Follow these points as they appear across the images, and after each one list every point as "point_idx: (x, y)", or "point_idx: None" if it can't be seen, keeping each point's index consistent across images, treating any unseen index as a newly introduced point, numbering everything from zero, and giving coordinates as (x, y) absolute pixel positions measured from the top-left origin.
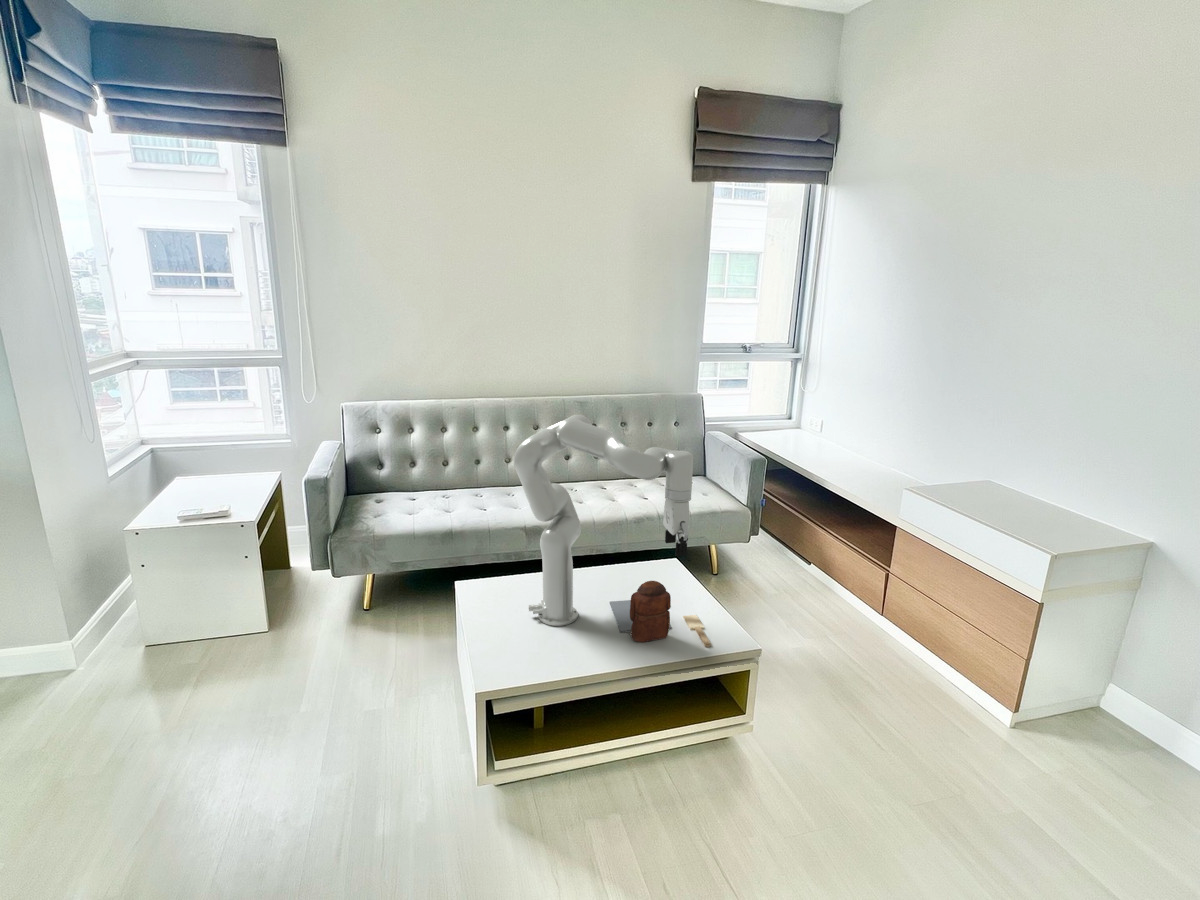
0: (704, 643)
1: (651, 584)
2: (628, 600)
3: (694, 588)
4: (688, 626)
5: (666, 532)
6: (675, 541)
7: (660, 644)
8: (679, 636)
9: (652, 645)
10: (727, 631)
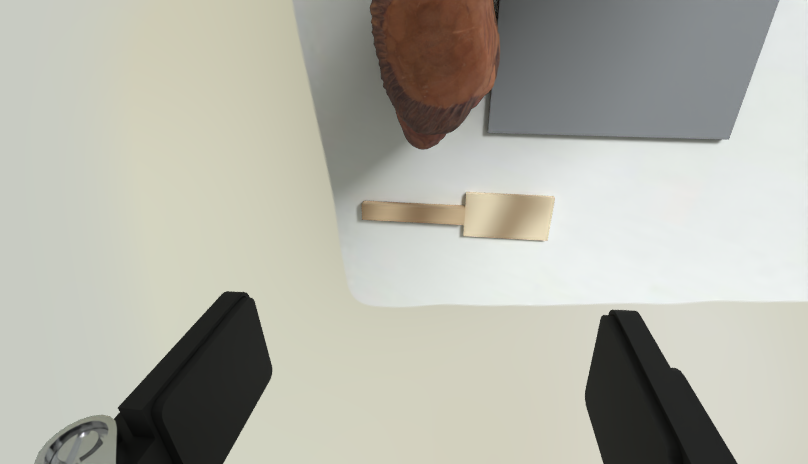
0: (371, 203)
1: (404, 33)
2: (776, 2)
3: (741, 300)
4: (488, 193)
5: (669, 439)
6: (587, 407)
7: None
8: None
9: None
10: (437, 287)
